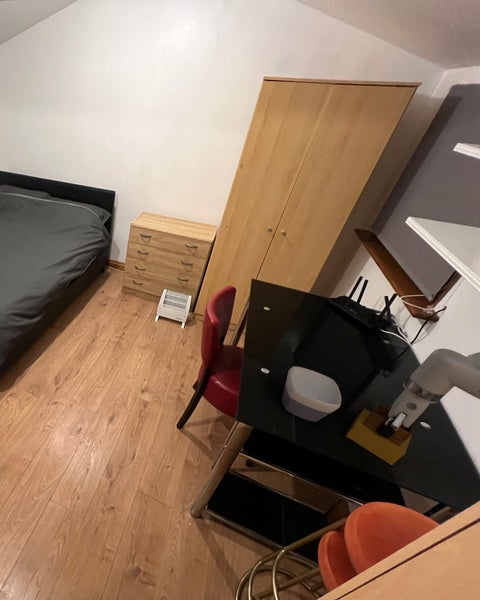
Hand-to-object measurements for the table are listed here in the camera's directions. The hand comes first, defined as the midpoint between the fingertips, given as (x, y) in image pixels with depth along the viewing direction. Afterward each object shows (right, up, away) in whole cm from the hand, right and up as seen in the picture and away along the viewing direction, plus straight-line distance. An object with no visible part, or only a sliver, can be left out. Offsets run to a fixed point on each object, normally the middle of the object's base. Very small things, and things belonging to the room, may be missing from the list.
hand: (385, 427), depth 98 cm
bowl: (-17, +2, +14) cm, 22 cm away
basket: (0, -1, 0) cm, 1 cm away
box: (-1, -6, +4) cm, 7 cm away
